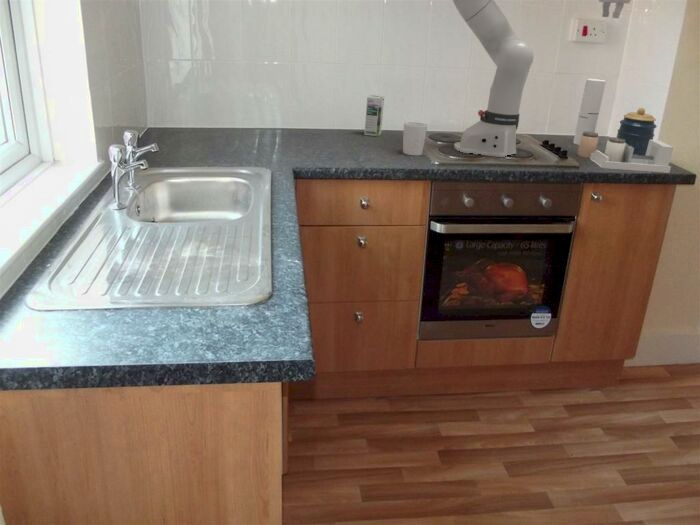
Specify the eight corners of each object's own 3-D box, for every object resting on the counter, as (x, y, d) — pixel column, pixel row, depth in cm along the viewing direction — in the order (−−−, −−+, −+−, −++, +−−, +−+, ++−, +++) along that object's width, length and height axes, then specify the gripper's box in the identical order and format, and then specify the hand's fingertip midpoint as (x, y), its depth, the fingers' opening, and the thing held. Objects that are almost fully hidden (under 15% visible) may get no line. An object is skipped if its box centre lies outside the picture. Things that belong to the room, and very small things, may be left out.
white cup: (426, 152, 223) (429, 124, 219) (420, 157, 216) (424, 127, 212) (404, 149, 225) (407, 121, 221) (398, 154, 218) (401, 124, 214)
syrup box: (363, 135, 243) (366, 96, 237) (366, 132, 248) (370, 94, 242) (378, 136, 242) (382, 97, 236) (381, 133, 247) (384, 95, 241)
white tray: (602, 169, 218) (608, 143, 214) (589, 160, 230) (595, 135, 226) (668, 174, 218) (676, 148, 214) (652, 165, 230) (659, 139, 226)
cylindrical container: (592, 146, 253) (607, 81, 243) (574, 144, 254) (587, 80, 244) (590, 143, 260) (604, 79, 250) (572, 141, 261) (585, 78, 251)
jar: (579, 158, 231) (585, 134, 228) (574, 155, 237) (579, 130, 233) (596, 160, 231) (601, 135, 228) (590, 156, 237) (596, 132, 233)
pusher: (626, 167, 219) (631, 147, 216) (615, 160, 228) (620, 141, 225) (656, 170, 219) (662, 149, 216) (644, 162, 228) (649, 143, 225)
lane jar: (605, 166, 221) (611, 140, 217) (599, 161, 226) (605, 136, 223) (623, 167, 221) (629, 141, 217) (616, 162, 226) (622, 137, 223)
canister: (607, 153, 244) (617, 106, 237) (620, 149, 253) (631, 103, 246) (641, 160, 236) (653, 112, 229) (653, 156, 245) (665, 109, 238)
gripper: (599, -28, 218) (590, 15, 224) (622, -30, 199) (611, 18, 205) (617, -27, 218) (608, 17, 224) (642, -28, 200) (631, 19, 205)
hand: (610, 17), depth 214 cm, fingers open, 8 cm apart
